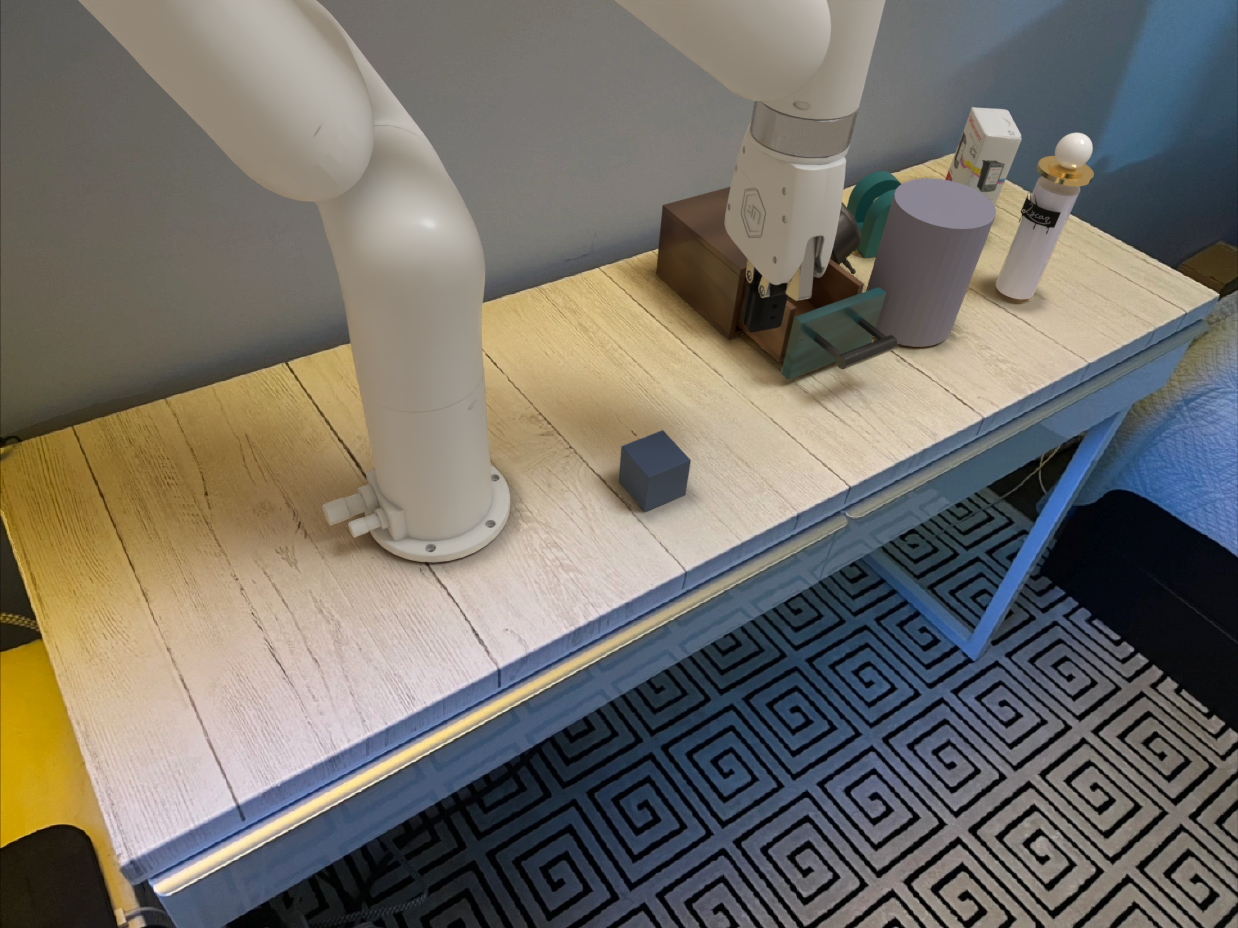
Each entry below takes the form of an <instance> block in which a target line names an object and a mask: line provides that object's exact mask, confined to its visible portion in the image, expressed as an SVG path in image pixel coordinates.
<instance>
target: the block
mask: <svg viewBox="0 0 1238 928" xmlns="http://www.w3.org/2000/svg"><path fill="white" fill-rule="evenodd" d="M619 458H620V459H619V460H620V461H619V471H618V482H619V483H620V485H622V487H623V488H624V489H625V490H626V492H627V493H628V494H629V496H631V498H632V499H633V500H634V501H635V503H636V504H637V505H638V507H640V508H641V510H642V511H643V512H644V513H647V512H648V511H651V510H654V509H656V508H658V507H660V506H663V505H665V504H667V503H670V502H672V501H674V500H677V499H679V498H681V497H683V496H686V494H687V488H688V481H689V474H690V468H691V461H692V460H691V458H690V457H688V455H687V454H686V453H685V452H684V451H683V449H681V447H679V446H678V444H676V442H675V441H674V440H673V439H672V438H671V437H670V436H669V435H668V433H666V431H664V430H663V429H662V430H659V431H656V432H654V433H651V434H649V435H646V436H643V437H641V438H638V439H636V440H633V441H631V442H628V443H625V444H622V445H621V446H620V457H619Z"/></svg>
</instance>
